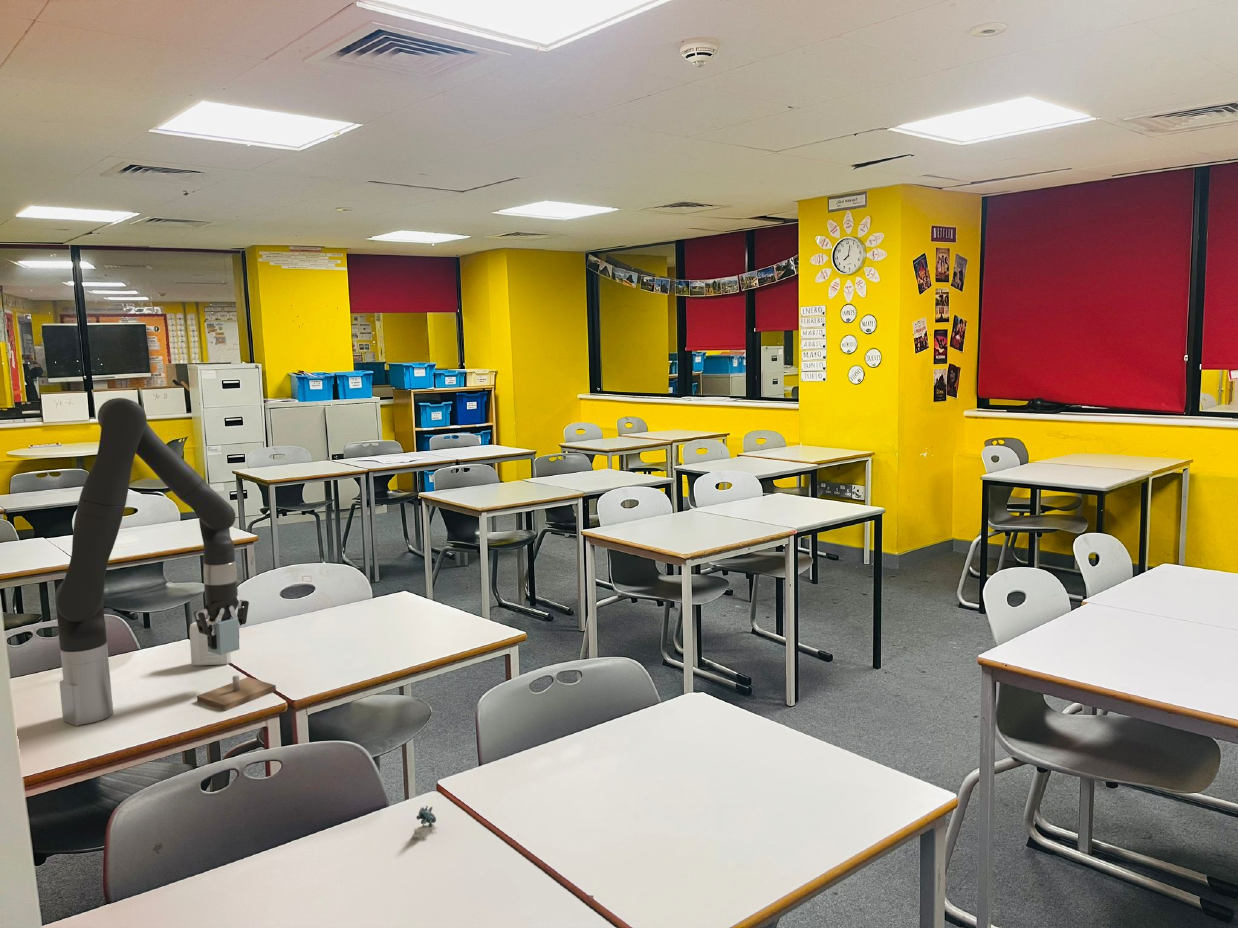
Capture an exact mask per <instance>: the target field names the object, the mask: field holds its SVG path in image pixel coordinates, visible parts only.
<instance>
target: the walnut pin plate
mask: <svg viewBox="0 0 1238 928" xmlns="http://www.w3.org/2000/svg"><path fill="white" fill-rule="evenodd" d="M276 691H277V685H275V684H273V683H269V682H265V681H262V680H258V679H255V678H252V677H249V676H247V677H245V678H241V679H240V676H239V675H233V676H232V682H231V683H229V684H225V685H223V686H220V687H217V688H214V689H211V690H209V691H206V692H203V693H201V694H198V695H196V701H197V703H200V704H203V705H206V706H209V707H212V708H215V709H218V710H222V711H224V712H225V711H228V710H231V709H234V708H237V707H238V706H241V705H245V704H246V703H248V702H251V701H254V700H256V699H257V700H258V699H260V698H262V697H264V696H267V695H269V694H272V693H275V692H276Z"/></svg>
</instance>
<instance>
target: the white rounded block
mask: <svg viewBox="0 0 1238 928" xmlns="http://www.w3.org/2000/svg"><path fill="white" fill-rule="evenodd" d="M207 620H208V618H206V622H207ZM207 642H208V641H207V635H205V634H201V633H199V630H198V627H197V623H196V621H194V622H192V623H191V624H190V626H189V646H190V647H189V648H190V660H191V662H190V663H191V664H190V665H192V666H210V665H211V666H212V665H213V666H218V665H229V664H231V662H232V652H229V653H226V654H223V655H219V654H215V653H212V652H208V643H207Z"/></svg>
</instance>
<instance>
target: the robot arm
mask: <svg viewBox="0 0 1238 928" xmlns="http://www.w3.org/2000/svg"><path fill="white" fill-rule="evenodd" d="M146 414H147V413H146V411H145V410H144V408H143V406H141V405H140V404H139V403H138V402H136V401H134V400H132V399H128V398H124V397H116V398H111V399H108V400H107V401H105V402H103V403H102V405H101V406H100V407H99V409H98V412H97V421H98V425H99V426H100V437H99V442H98V448H97V453H96V457H95V460H94V461H93V462H94V463H93V464H92V468H91V469H90V471H89V472H88V475H87V477H86V479H85V481H84V483H83V487H82V489H81V492H80V495H79V499H78V503H77V507H76V512H75V517H74V523H73V531H72V541H71V543H72V545H71V546H72V547H71V557H70V561H69V565H68V568H67V571H66V573H65V577H64V579H63V581H61V583H60V584H59V585H58V586H57V588H56V591H55V596H54V601H55V608H56V609H55V610H56V618H57V619H56V620H57V629H58V630H57V631H58V642H59V649H60V659H61V660H60V661H61V668H62V679H63V680H60V681H59V691H60V701H61V703H60V704H61V713H62V720H63V722H65V723H67V724H70V725H73V726H75V727H78V726H81V725H87V724H92V723H97V722H100V721H102V720H105V719H108V718H109V717H110V716H112V715H113V714H114V705H113V696H112V683H111V673H110V662H109V661H110V660H109V652H108V651H109V650H108V639H107V629H106V621H105V612H104V611H105V609H104V608H105V607H104V591H105V583H106V582H105V581H106V574H107V570H108V569H107V568H108V565H109V564H108V563H109V561H110V557H111V555H112V551H113V548H114V546H115V543H116V540H117V537H118V534H119V531H120V526H121V524H122V520H123V517H124V511H125V509H126V505H127V501H128V500H127V499H128V495H129V494H128V493H129V488H130V482H131V477H132V468H133V464H134V460H135V457H136V455H137V457H139V458H140V459H141V460H142V461H143V462H144V463H145V464H146V466H148V467H149V468H150V469H151V471H152V472H153V473H154V474H155V475H156V476H157V477H158V478H159V480H161V482H162V483H163V484H164V485H165V486H166V487H167V488H168V489H169V490H170V491H171V492H172V493H173V494H174V495H175V496H176V497H177V499H179V500H180V501H181V502H183V503H184V504H185V505H187V506H189V507H190V508H191V509H192V510H193V511H194V512H195V513H196V514H197V516H198V520H199V521H198V522H199V530H200V533H201V534H200V535H201V539H202V543H203V565H204V566H203V587H204V599H205V607H204V609H201V610H200V611H198V610H195V611H194V612H193V617H194V619H195V622H196V623H197V627H198V630H199V633H201V634H205V635H207V641H208V642H207V643H208V647H210V649H213V650H215V649H217V637H216V635H215V634H216V626H217V623H220V622H221V621H223V620H224V619H230V618H232V619H235V618H237V619H238V629H239V630H240V627H241V626H242V625H245V624H247V619H248V613H249V612H248V611H249V605H250V602H249V601H248V600H245V599H240V600H238V595H239V589H238V571H237V570H238V569H237V565H236V554H235V544H234V541H233V540H232V538H231V533H230V530H231V529H230V528H232V526H233V525H234V524H235V521H236V512H235V509H234V508H233V506H232V505H231V504H230V503H229V502H228V501H226V499H224V498H223V497H222V496H221V495H220V494H219V493H217V492H216V490H214V489H212V487H210V486H209V484H208V483H207V482H206V481H205V479H204V478H203V477H202V476H201V475H200V474H199V473H198V472H197V471H196V470H195V469H194V468H193V467H192V466H191V465H190V464H189V463H188V462H187V461H186V460H185V459H183V458H182V457H181V456H180V455H179V454H178V453H176V452H175V451H174V450H173V449H172V448H171V447H169V446H168V445H167V443H165V442H164V441H163V440H162V439H161V438H160V437H159V436H158V435H157V433H156V432H155V431H154V430H153V429H152V428H151V426H150V425H149V423H148V422H147V421H148V420H147V419H148V418H147V415H146ZM236 611H237V612H236ZM207 615H208V616H207ZM206 619H208V621H207V622H206ZM213 620H215V622H212V621H213ZM207 624H208V625H207ZM211 625H212V627H211Z"/></svg>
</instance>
